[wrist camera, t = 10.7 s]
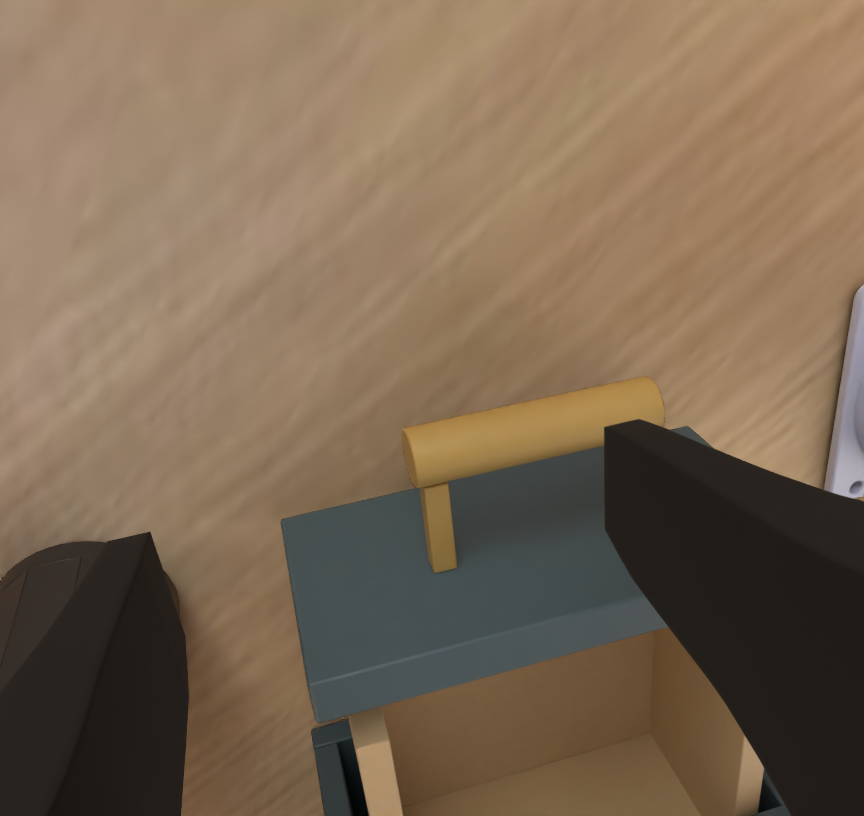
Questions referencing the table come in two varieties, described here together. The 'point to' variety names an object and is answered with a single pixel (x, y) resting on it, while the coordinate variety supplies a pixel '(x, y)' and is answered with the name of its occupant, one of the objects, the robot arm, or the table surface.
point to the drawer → (509, 631)
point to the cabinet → (347, 793)
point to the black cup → (41, 598)
